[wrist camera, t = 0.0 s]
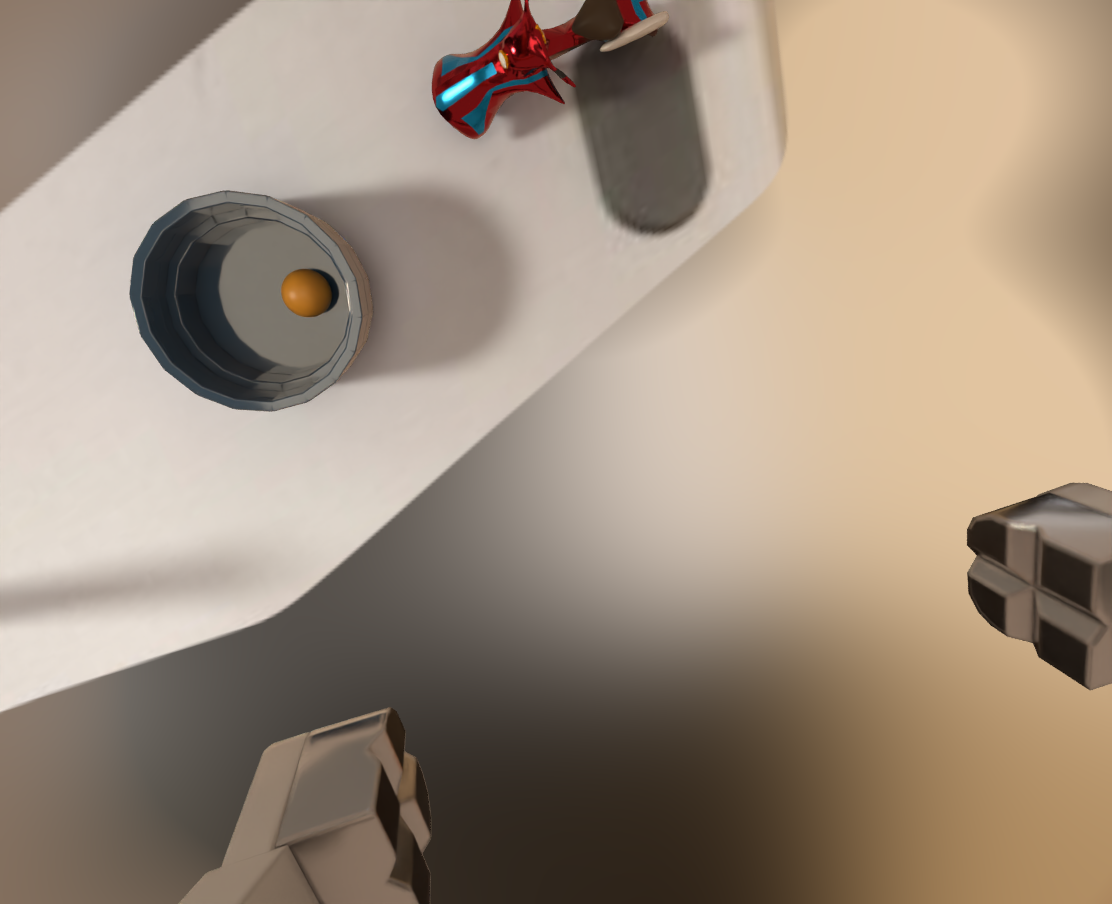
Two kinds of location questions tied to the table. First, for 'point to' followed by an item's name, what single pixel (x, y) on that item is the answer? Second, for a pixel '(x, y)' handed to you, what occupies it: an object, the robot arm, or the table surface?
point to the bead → (306, 293)
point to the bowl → (247, 300)
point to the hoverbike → (529, 58)
